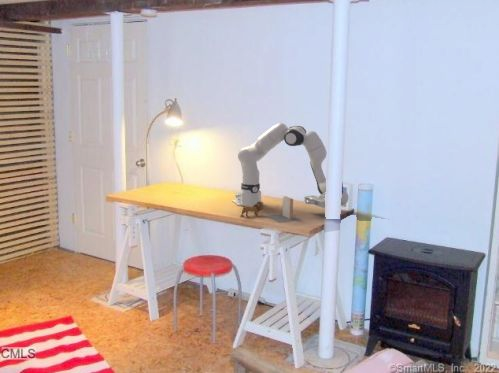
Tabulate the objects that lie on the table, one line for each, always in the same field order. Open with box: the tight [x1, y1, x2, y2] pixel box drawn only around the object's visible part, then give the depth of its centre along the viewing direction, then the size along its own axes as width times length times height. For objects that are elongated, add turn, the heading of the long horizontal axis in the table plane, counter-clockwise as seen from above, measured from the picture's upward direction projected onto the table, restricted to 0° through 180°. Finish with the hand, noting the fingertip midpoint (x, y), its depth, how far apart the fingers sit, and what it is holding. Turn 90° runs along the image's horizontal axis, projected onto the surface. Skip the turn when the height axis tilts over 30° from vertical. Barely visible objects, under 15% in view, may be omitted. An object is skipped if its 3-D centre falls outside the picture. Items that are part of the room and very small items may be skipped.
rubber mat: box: [264, 213, 303, 224], centre depth 326 cm, size 18×16×1 cm
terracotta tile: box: [282, 196, 294, 219], centre depth 326 cm, size 8×2×12 cm, turn 28°
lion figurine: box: [240, 201, 264, 218], centre depth 330 cm, size 15×5×9 cm, turn 114°
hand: (306, 202), depth 332 cm, fingers closed
